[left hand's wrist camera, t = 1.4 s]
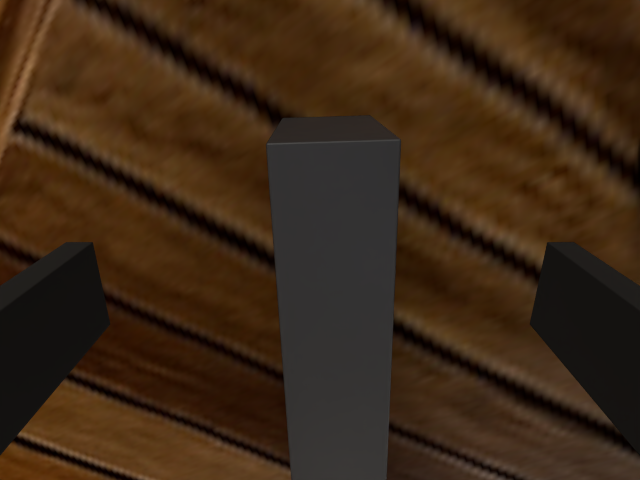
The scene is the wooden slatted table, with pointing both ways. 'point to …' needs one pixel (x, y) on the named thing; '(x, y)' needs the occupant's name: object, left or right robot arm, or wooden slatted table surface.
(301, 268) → the bar
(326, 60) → the wooden slatted table surface
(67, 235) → the wooden slatted table surface
